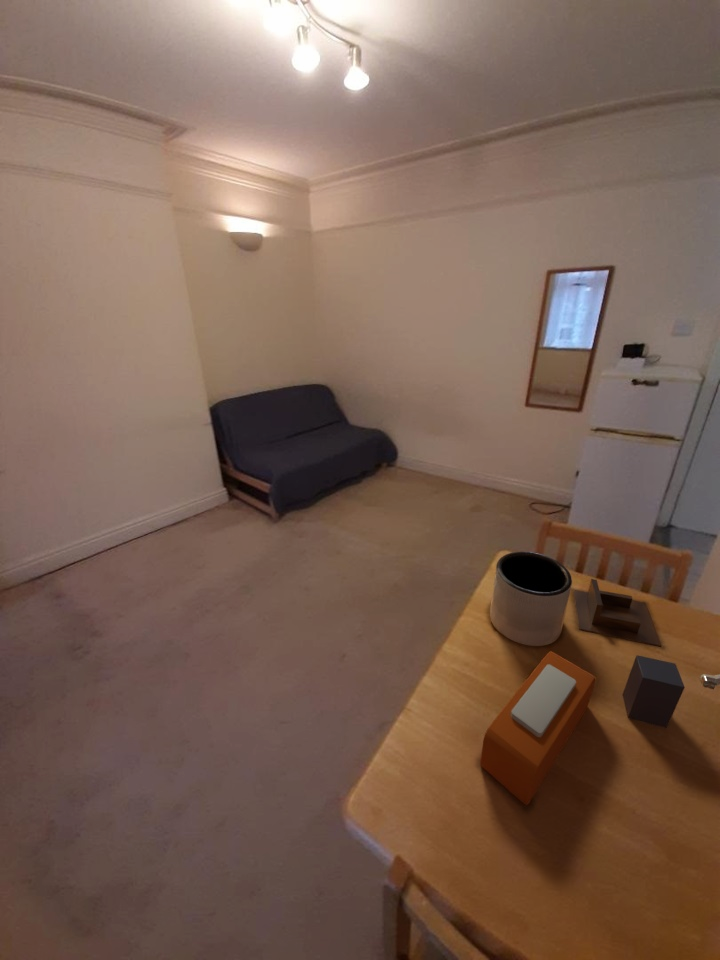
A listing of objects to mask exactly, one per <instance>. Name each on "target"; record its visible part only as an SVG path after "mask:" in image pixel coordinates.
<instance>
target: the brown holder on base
mask: <svg viewBox="0 0 720 960" xmlns="http://www.w3.org/2000/svg"><path fill="white" fill-rule="evenodd" d="M572 593H573V598H574V599H573V600H574V605H575V606H574V607H575V613H576V616H577V617H576V618H577V619H576V620H577V623H578V625H577V626H578V630H580V631H584V632H589V633H594V634H599V635H603V636H607V637H613V638H617V639H622V640H627V641H632V642H636V643H641V644H642V643H643V644H646V645H649V646H656V647H660V648H661V647H662V644H661V642H660V641H661V640H660V638H659V636H658V633H657V630H656V627H655V625H654V622H653V619H652V617H651V614H650V612H649V609H648V607H647V604H646V602H644V601H640V600H639V601H638V600H634V599H633V596H632V595H629V594H623V593H622V594H621V593H618V592H611V591H605V590H601V589H600V587H599V583H598V579H595V578H591V579H590V583H589V587H588V591H582V590H579V589H578V590H577V589H573V590H572Z"/></svg>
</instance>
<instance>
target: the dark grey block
mask: <svg viewBox="0 0 720 960" xmlns="http://www.w3.org/2000/svg"><path fill="white" fill-rule="evenodd" d="M684 690H685V684H684V681H683V680H682V676H681V675H680V671H679V669H678V666H677V664H676V663H675V662H671V661H666V660H661V659H656V658H652V657H647V656H643V655H639V654H637V655H635V658H634V661H633V664H632V666H631V669H630V672H629V674H628V678H627V681H626V684H625V686H624V689H623V692H622V700H623V703H624V707H625V712H626V716H627V719H629V720H634V721H637V722H640V723H645V724H649V725H653V726H657V727H661V728H664V729H667V728H668V726H669V724H670V721H671V719H672V717H673V715H674V713H675V710H676V708H677V706H678V703H679V702H680V699H681V697H682V695H683V693H684Z"/></svg>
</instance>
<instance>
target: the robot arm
mask: <svg viewBox="0 0 720 960" xmlns="http://www.w3.org/2000/svg"><path fill="white" fill-rule="evenodd" d="M699 681H700V683H701V685H702V687H703V688H706V689H707V688H708V689H711V690H715V688H716V686H720V673H718V674H715V675H711V674H707V673H703V674H701V675H700V678H699Z"/></svg>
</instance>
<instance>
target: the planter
mask: <svg viewBox="0 0 720 960" xmlns="http://www.w3.org/2000/svg"><path fill="white" fill-rule="evenodd" d="M495 565H496V566H495V573H494V581H493V586H492V594H491V600H490V606H489V617H490V621H491V623H492V625H493V627H494V629H496V631H498V632H499V633H500V634H501V635H503V636H504V637H506V638H507V639H508V640H511V641H512V642H515V643H518V644H522V645H524V646H528V647H529V646H531V647H542V646H548V645H550V644H552V643H554V642H556V641H557V640H558V639H559V638H560V636H561V633H562V630H563V626H564V622H565V616H566V613H567V607H568V604H569V603H568V602H569V598H570V593H571V589H572V586H573V585H572V584H573V577H572V575H571V573H570V571H569V570H568V569H567V567H565V566H564V565H563V564H562V563H560V562H559V561H558V560H556V559H554V558H553V557H550V556H548V555H545V554H542V553H539V552H534V551H513V552H509V553H506V554H504V555H503V556H501V557H500V558H499V559H498V560H497V562H496V564H495Z"/></svg>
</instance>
